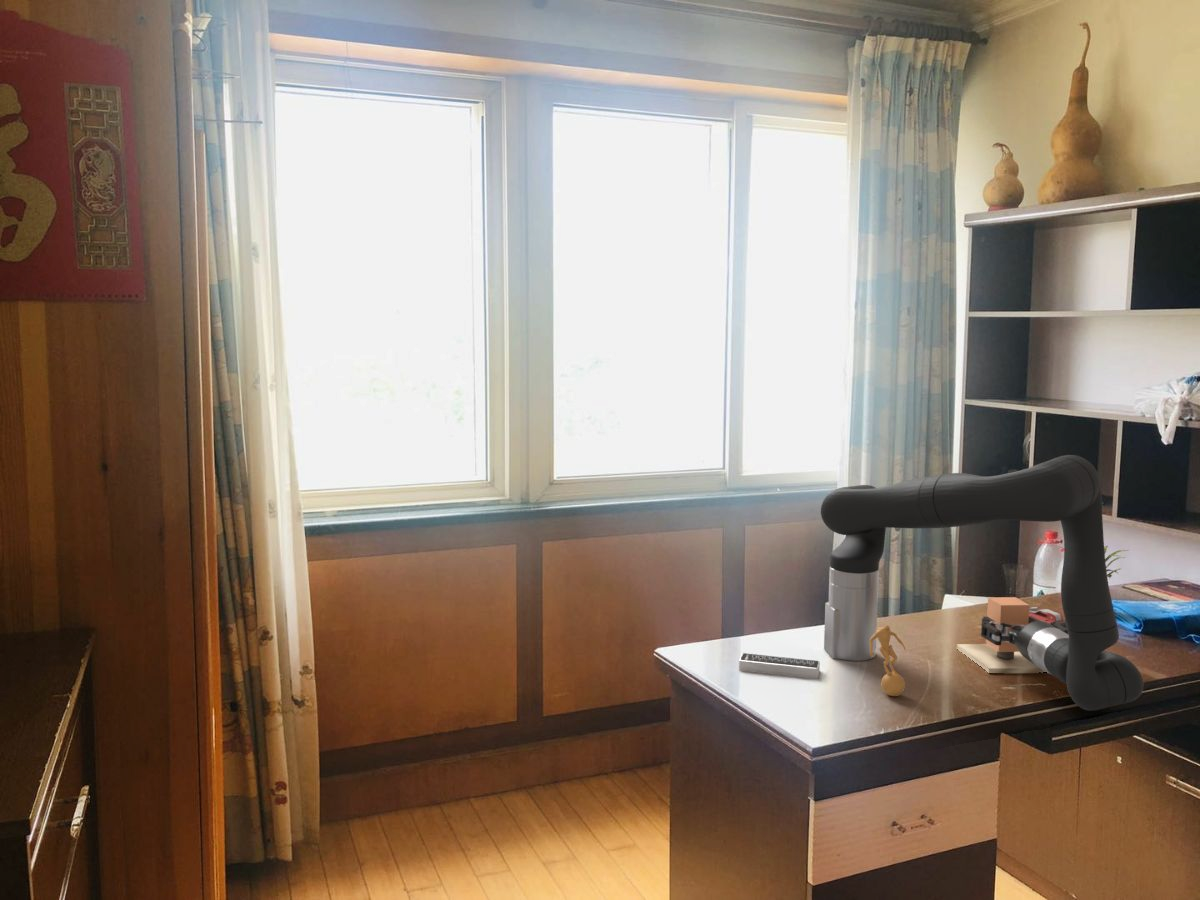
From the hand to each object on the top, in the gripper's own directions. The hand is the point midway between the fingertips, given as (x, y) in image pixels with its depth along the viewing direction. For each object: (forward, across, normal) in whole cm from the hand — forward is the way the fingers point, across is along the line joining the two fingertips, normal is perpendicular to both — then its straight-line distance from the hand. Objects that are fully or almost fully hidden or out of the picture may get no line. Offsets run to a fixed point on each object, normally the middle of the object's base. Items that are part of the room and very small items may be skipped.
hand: (1006, 621), depth 180 cm
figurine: (-15, +28, +8) cm, 33 cm away
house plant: (+32, -36, +8) cm, 49 cm away
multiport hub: (-3, +44, +9) cm, 45 cm away
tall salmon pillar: (0, 0, +5) cm, 5 cm away
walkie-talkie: (+18, -18, +9) cm, 27 cm away
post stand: (+1, -5, +8) cm, 9 cm away
